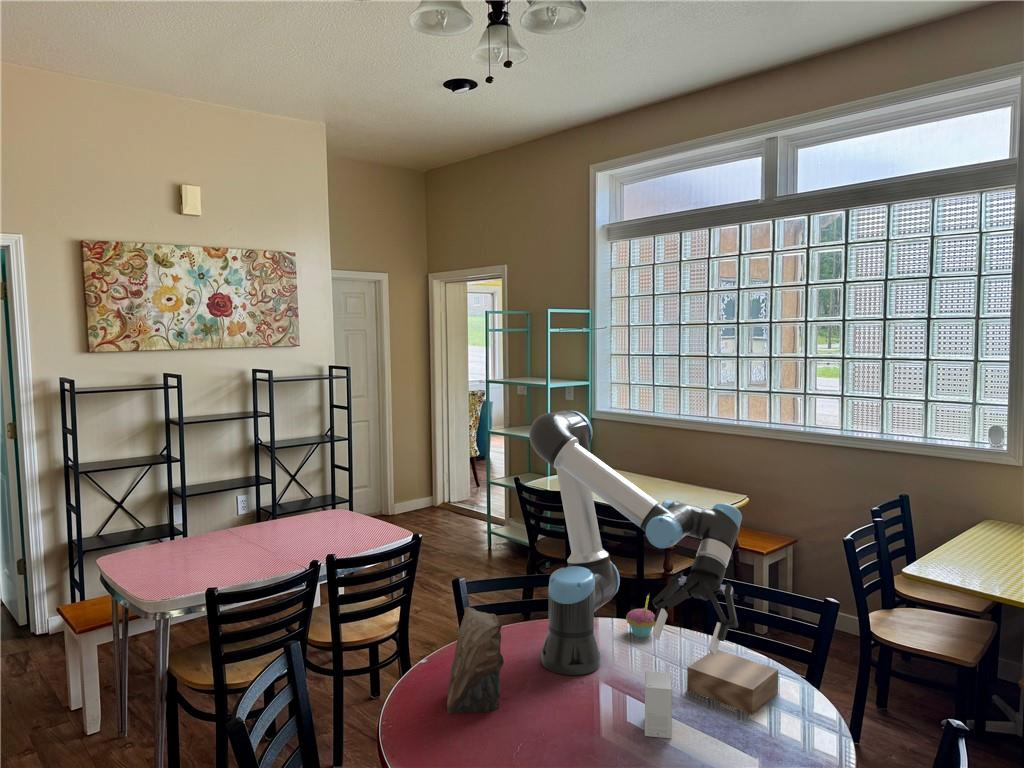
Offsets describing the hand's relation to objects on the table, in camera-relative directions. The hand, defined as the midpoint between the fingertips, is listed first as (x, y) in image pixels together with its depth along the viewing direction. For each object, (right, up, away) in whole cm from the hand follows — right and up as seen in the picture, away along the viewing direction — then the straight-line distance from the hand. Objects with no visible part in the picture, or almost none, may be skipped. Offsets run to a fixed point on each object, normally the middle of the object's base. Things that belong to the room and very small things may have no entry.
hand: (682, 644), depth 154 cm
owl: (-48, -14, +3) cm, 50 cm away
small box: (-7, -15, -7) cm, 18 cm away
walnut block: (+14, -15, +9) cm, 22 cm away
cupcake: (-2, -13, +42) cm, 44 cm away
